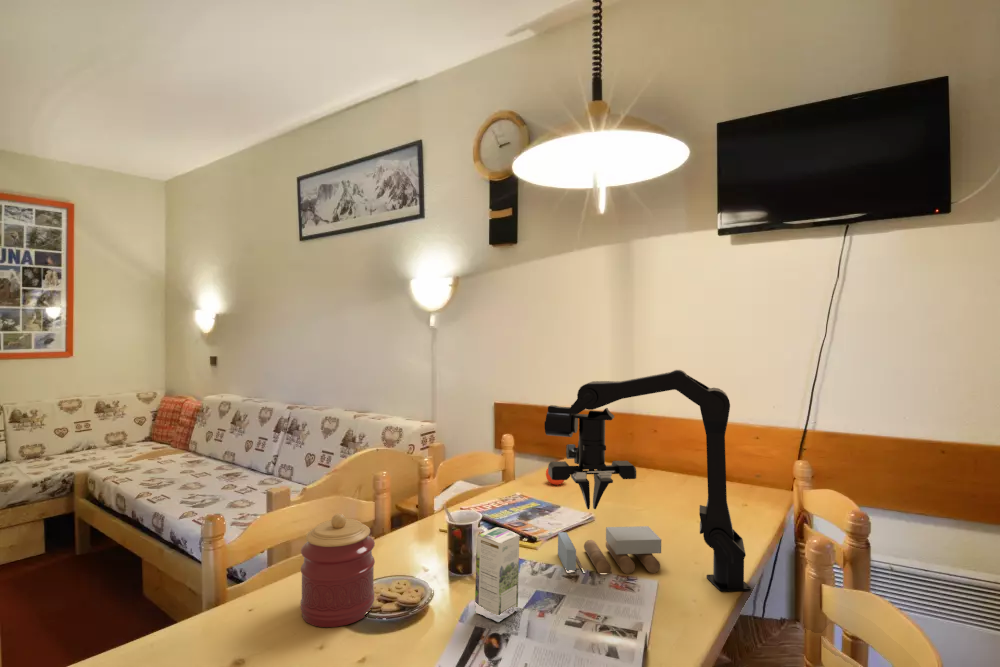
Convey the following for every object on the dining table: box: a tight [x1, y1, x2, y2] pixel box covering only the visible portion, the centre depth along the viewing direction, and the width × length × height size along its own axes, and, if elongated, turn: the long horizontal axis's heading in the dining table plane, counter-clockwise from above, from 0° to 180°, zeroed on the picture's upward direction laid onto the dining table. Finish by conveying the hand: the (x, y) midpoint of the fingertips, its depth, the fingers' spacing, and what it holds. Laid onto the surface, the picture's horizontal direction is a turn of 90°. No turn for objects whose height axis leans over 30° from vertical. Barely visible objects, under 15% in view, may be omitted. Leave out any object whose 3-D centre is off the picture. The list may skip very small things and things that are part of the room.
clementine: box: [545, 467, 565, 486], centre depth 182 cm, size 8×7×7 cm
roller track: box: [576, 540, 661, 575], centre depth 121 cm, size 12×17×3 cm
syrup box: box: [474, 526, 520, 615], centre depth 99 cm, size 6×6×14 cm
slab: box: [605, 525, 662, 555], centre depth 121 cm, size 8×10×3 cm
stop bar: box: [557, 531, 577, 571], centre depth 120 cm, size 10×2×5 cm, turn 5°
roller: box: [583, 539, 612, 574], centre depth 120 cm, size 12×3×3 cm
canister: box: [300, 513, 376, 628], centre depth 99 cm, size 13×13×18 cm
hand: (591, 508), depth 120 cm, fingers closed
